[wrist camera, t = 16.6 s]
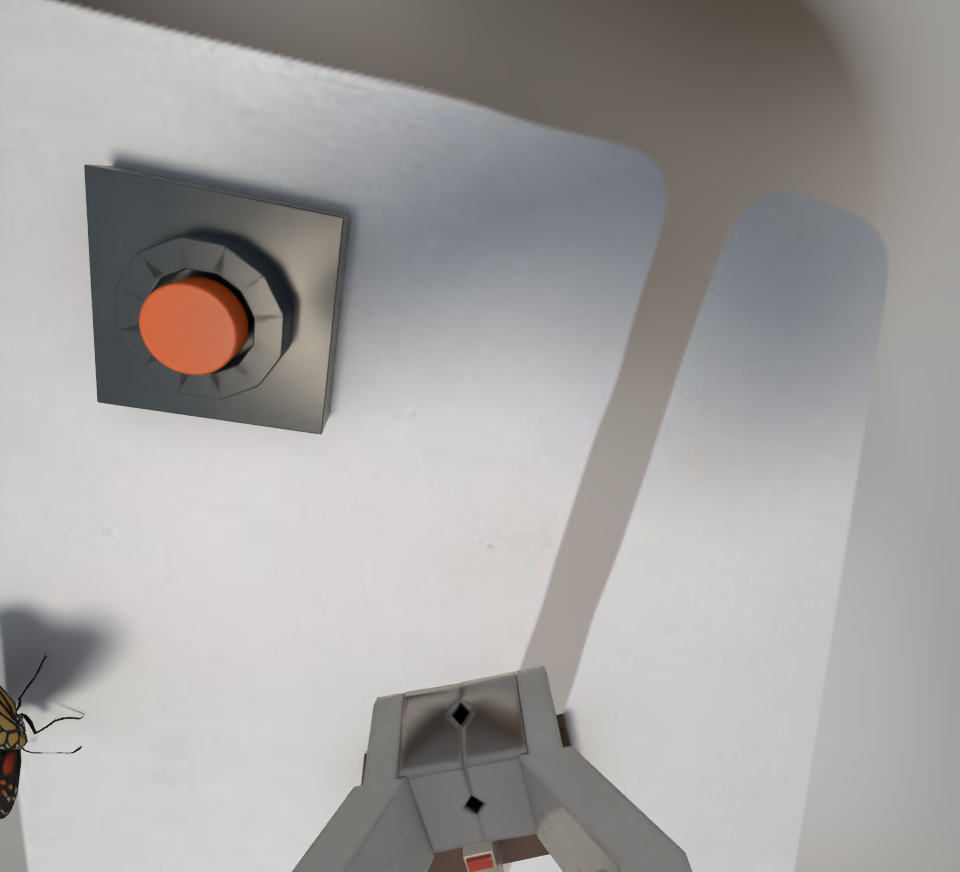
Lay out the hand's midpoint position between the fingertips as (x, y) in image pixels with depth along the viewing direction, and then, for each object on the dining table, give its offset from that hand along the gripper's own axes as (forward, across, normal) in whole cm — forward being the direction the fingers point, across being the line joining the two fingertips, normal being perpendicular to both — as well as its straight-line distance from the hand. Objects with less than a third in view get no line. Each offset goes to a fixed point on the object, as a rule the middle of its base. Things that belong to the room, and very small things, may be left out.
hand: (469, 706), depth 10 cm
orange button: (+17, +9, -5) cm, 20 cm away
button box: (+21, +10, -5) cm, 23 cm away
